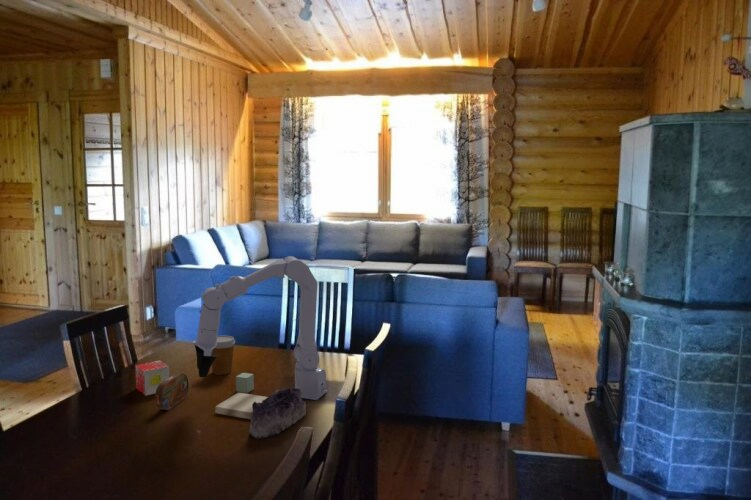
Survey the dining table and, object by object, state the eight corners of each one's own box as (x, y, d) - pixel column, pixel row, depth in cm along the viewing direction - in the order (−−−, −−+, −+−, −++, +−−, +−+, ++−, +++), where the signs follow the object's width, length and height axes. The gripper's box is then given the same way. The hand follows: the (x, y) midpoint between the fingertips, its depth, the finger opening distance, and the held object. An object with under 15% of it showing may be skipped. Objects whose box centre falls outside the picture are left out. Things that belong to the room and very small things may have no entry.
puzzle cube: (145, 395, 185) (144, 371, 184) (136, 388, 191) (135, 365, 190) (170, 389, 190) (169, 366, 189) (160, 383, 196) (159, 360, 195)
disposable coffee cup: (241, 370, 209) (240, 337, 207) (221, 378, 201) (220, 344, 199) (222, 365, 214) (221, 333, 212) (202, 373, 206) (201, 339, 204)
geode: (278, 444, 153) (272, 407, 152) (241, 442, 157) (235, 406, 156) (314, 412, 172) (309, 379, 170) (280, 411, 176) (275, 379, 175)
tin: (163, 414, 171) (162, 386, 170) (153, 413, 171) (152, 385, 170) (189, 395, 185) (189, 369, 184) (180, 394, 186) (179, 369, 185)
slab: (272, 405, 179) (272, 397, 179) (251, 420, 168) (251, 412, 168) (238, 400, 183) (238, 392, 183) (215, 414, 172) (215, 406, 172)
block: (253, 388, 192) (253, 374, 191) (247, 393, 188) (246, 378, 187) (243, 387, 193) (242, 372, 192) (236, 391, 189) (236, 376, 189)
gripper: (193, 321, 180) (186, 364, 180) (196, 333, 166) (189, 380, 167) (216, 323, 182) (210, 365, 183) (221, 335, 169) (214, 381, 170)
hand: (201, 372), depth 175 cm, fingers open, 7 cm apart
